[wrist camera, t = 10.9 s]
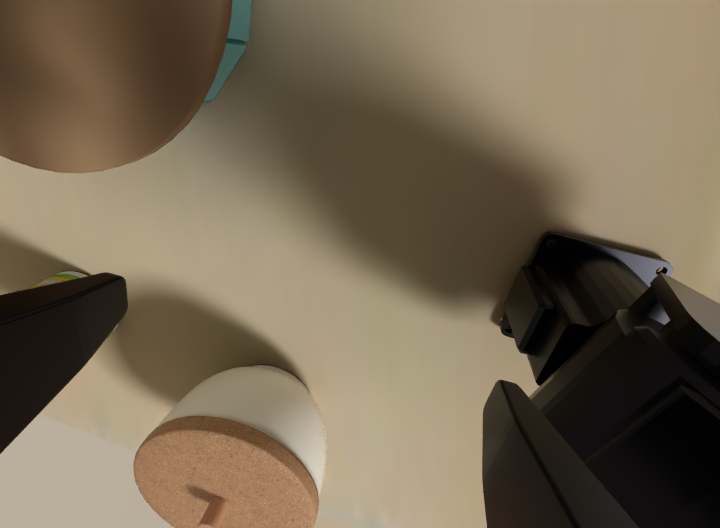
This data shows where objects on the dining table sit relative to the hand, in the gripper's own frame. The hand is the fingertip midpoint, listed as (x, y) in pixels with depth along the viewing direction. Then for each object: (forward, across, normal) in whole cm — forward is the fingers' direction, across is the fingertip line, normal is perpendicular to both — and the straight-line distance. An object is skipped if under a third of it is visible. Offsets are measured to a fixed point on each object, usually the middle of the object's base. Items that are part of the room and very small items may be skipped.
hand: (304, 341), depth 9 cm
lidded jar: (+13, +4, +17) cm, 22 cm away
